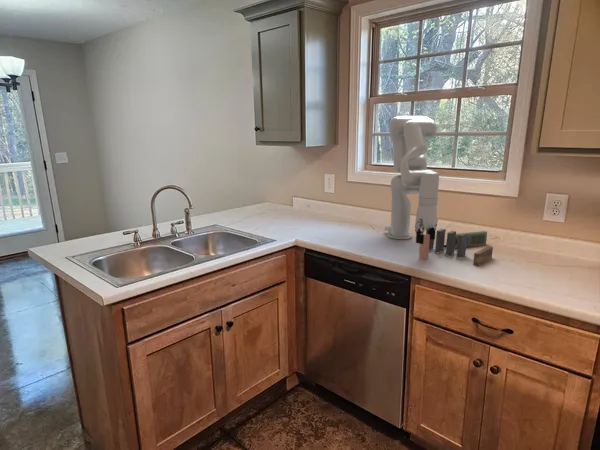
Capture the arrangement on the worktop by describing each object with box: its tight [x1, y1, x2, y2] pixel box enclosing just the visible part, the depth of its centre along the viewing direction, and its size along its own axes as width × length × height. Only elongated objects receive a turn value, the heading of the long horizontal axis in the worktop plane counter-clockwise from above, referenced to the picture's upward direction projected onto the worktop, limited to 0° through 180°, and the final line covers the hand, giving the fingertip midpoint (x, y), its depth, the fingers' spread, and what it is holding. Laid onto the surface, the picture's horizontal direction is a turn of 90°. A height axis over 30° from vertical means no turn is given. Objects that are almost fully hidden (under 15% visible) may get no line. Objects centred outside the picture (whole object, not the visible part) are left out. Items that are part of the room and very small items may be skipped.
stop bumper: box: [472, 245, 494, 267], centre depth 164 cm, size 2×14×5 cm, turn 134°
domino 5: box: [456, 232, 468, 259], centre depth 170 cm, size 2×5×10 cm, turn 134°
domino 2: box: [425, 229, 435, 251], centre depth 180 cm, size 2×5×10 cm, turn 134°
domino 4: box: [445, 230, 457, 256], centre depth 173 cm, size 2×5×10 cm, turn 134°
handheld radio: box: [444, 230, 488, 249], centre depth 184 cm, size 7×3×25 cm
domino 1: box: [418, 233, 430, 260], centre depth 168 cm, size 2×5×10 cm, turn 134°
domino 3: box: [434, 228, 446, 254], centre depth 177 cm, size 2×5×10 cm, turn 134°
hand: (425, 241), depth 167 cm, fingers open, 9 cm apart
